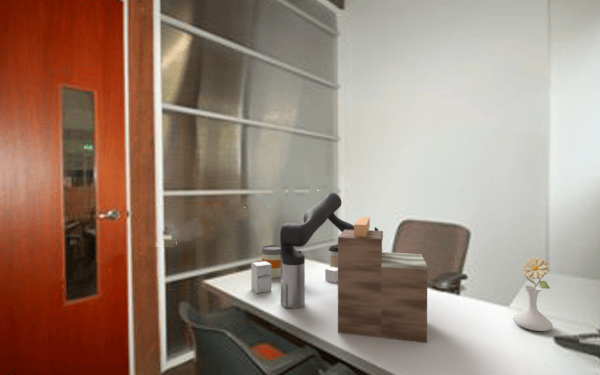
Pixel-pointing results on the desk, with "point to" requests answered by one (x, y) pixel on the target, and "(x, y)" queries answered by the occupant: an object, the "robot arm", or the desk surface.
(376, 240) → the stepped stand
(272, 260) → the reusable coffee cup
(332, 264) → the coffee cup
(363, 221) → the terracotta bar
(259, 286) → the supplement box
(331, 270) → the white cube
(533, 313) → the flower in vase
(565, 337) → the desk surface
